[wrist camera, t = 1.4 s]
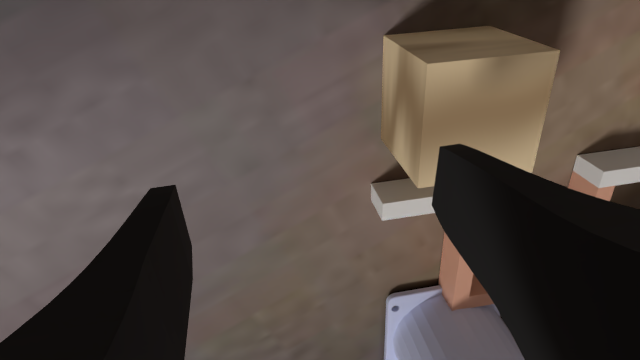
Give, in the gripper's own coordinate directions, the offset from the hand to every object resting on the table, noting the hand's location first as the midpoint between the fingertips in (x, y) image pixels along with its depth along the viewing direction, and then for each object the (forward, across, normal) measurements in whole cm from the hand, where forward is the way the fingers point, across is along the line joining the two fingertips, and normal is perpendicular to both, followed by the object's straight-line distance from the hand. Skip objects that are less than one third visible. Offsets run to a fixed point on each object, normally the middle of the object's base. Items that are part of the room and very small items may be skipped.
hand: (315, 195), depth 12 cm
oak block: (+9, -8, +1) cm, 12 cm away
